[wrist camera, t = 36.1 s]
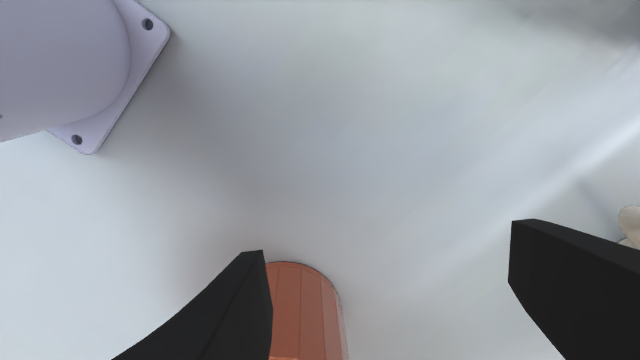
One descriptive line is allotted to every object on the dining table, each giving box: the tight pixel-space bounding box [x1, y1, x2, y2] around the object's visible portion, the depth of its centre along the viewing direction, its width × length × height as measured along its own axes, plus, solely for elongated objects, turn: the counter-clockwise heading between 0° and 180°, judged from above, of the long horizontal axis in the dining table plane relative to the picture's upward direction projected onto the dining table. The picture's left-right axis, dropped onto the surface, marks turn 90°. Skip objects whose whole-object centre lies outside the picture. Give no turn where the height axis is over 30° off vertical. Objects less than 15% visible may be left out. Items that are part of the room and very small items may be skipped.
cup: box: [265, 262, 349, 360], centre depth 20 cm, size 7×7×8 cm
